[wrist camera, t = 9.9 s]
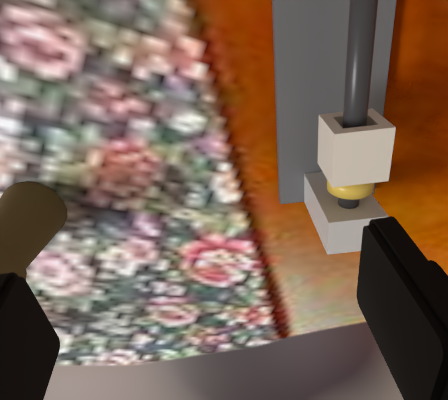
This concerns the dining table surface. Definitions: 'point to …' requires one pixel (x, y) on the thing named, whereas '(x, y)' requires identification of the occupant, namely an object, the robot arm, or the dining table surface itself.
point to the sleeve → (355, 149)
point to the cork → (27, 224)
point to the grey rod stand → (328, 103)
